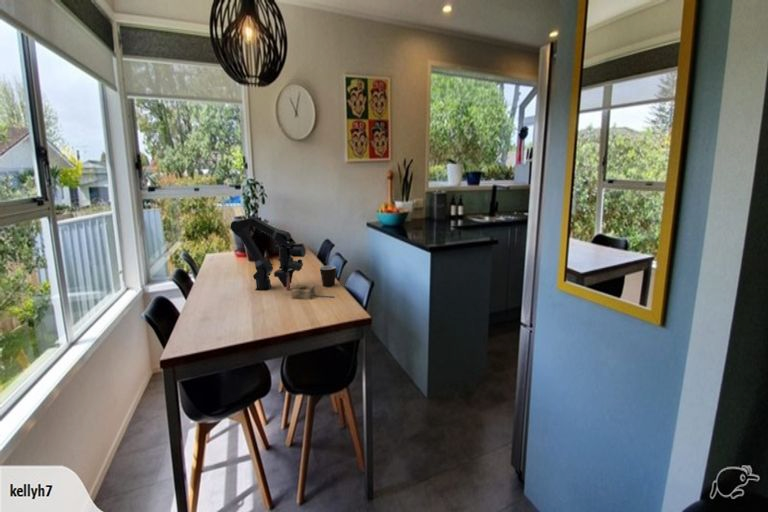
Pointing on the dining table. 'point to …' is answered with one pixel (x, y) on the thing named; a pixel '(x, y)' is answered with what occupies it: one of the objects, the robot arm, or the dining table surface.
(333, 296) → the blue gray square bar
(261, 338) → the dining table surface
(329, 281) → the coffee mug
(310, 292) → the brown square holed block
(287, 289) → the reddish pink rod
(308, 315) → the dining table surface
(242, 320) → the dining table surface
